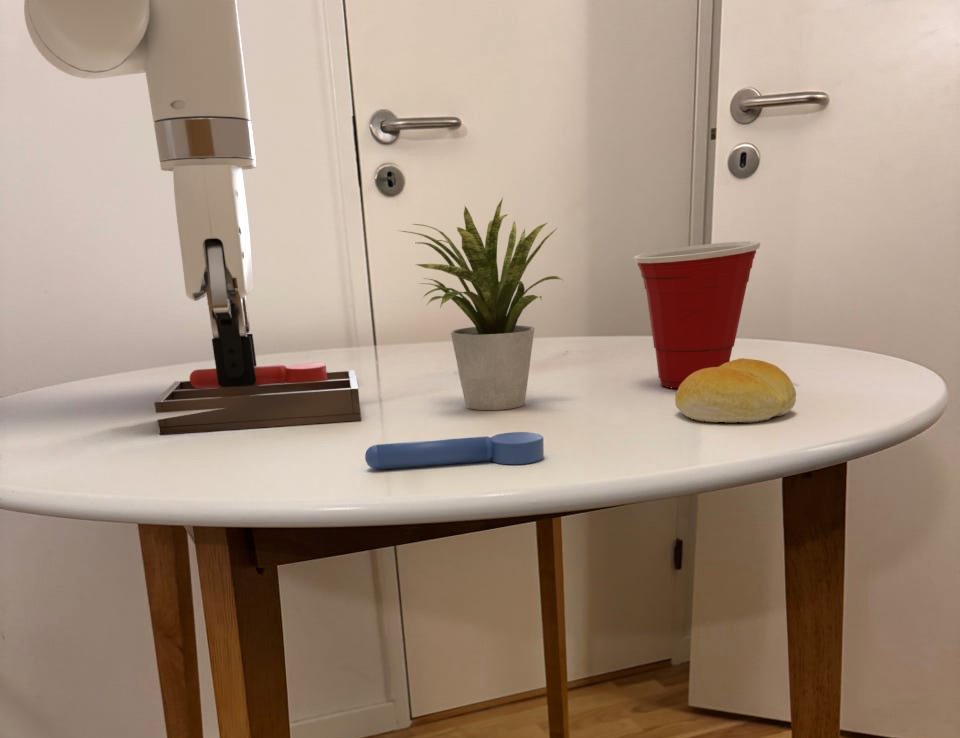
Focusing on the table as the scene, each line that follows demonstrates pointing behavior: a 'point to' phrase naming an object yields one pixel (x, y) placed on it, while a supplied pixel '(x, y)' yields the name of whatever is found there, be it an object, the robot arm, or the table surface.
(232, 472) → the table surface
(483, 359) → the house plant
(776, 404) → the bread roll
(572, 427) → the table surface
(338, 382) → the organiser
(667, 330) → the plastic cup
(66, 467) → the table surface
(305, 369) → the red spoon
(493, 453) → the blue spoon
